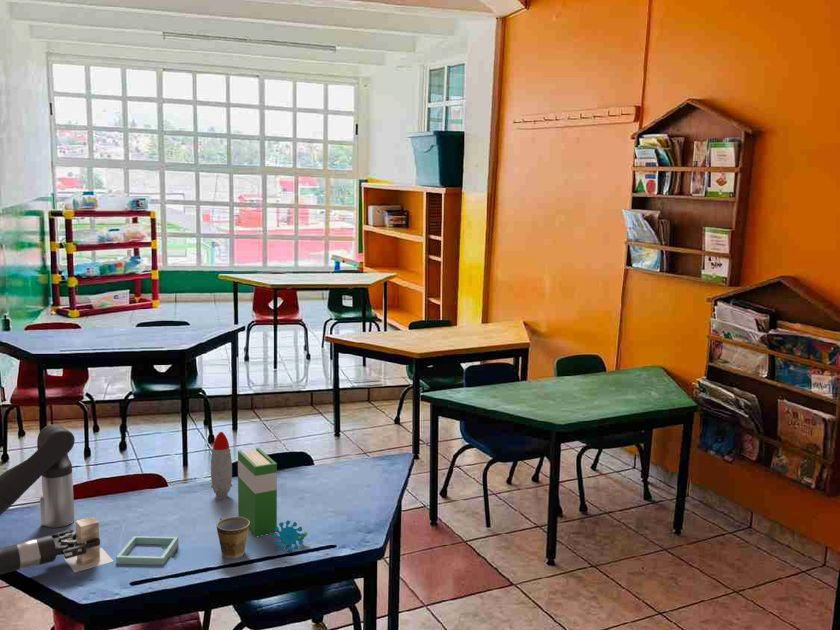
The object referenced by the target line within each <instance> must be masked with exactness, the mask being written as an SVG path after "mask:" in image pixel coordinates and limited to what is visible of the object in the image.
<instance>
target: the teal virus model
mask: <svg viewBox="0 0 840 630" xmlns="http://www.w3.org/2000/svg"><path fill="white" fill-rule="evenodd" d="M284 523H285V527H284ZM290 524H291V521H290V520H288V519H287V520H286V521H285V522H283V521H282V522H279V523H278V525H279V527H280V528H279V527H278V526H277V527H276V528H275V529H274V531H275V532H277V533H273V536H272V538H273V539H279V540H280V541H279V540H275V542H274V543H275V546H279V545H280V544H283V545H281V546H280V547H279V549H280V550H281V551H284V550H285V548H286V546H289V547H287V549H286V551H287V552H290V553H291V552H292V550H295V551H296V550H299V546H301V545H302V544H304V539H305V538H306V537H307V536H308V534H309V533H308V532H307V531H306V532H303V533H299V532H302V531H303V528H302V526H299V527H297V525H298V523H297V522H296V521H293V523H292V525H290ZM289 525H290V526H289ZM294 527H297V528H294ZM297 542H298V544H297ZM293 545H294V547H293V548H294V549H293V548H292V546H293Z"/></svg>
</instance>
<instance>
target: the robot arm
mask: <svg viewBox="0 0 840 630" xmlns="http://www.w3.org/2000/svg"><path fill="white" fill-rule="evenodd" d="M37 435H38V436H37V440H36V447H37V448H36V449H37V450H36V451H35V452H33V453H32V454H31V456H29V457H28V458H27V459H25V460H24V461H22V462H21V463H19V464H16V465H14V466H12V467H11V468H9V469H7V470H5V471H4V472H3V473H1V474H0V517H1V516H2V515H3V514H4V513H5V512H6V511H8V510H9V508H10V507H11V506H12V505H14V504H15V503H16V502H17V501H18V500H19V499H20V498H21V497H22V496H23V495H24V494H25V493H26V491H27V490H28V489H29V488H30V487H32V486H33V485H34V484H35V483H36V482H37V481H38V480H39V479H41V489H42V491H41V492H42V493H41V494H42V495H41V497H39V507H40V508H39V509H40V526H45V527H47V528H52V529H53V528H54V529H55V528H62V527H66V526H68V525H71V524H72V523H74V522H75V505H74V481H73V464H72V462H71V460H70V458H69V455H68V454H69V453H70V452H71V450H72V449H73V447H74V445H75V441H76V440H75V435H74V434H73V433H72V432H71V431H70V430H69V429H66V428H65V427H63V426H61V425H59V424H48V425H46V426H44V427H43V428H42V429H41V430H40V431H39V433H38V434H37ZM40 477H41V478H40ZM78 545H79V546H78ZM100 545H101V539H100V537H99V538H95V539H91V540H87V541H78V540H76V530H74V529H67V530H62V531H59V532H53V533H51V534H49V535H44V536H41V537H37V538H32V539H29V540H24V541H20V542H18V543H16V544H12V545H11V544H10V545H7V546H4V547H0V575H3V574H7V573H11V572H14V571H18V570H24V569H30V568H34V567H37V566H41V565H44V564H45V565H46V564H48V563H52V562H55V561H56V559H57V558H56V557H57V556H61V555H63V556H64V557H63V558H65V559H68V558H71V557H75V556H78V555H82V554H85V553H87V552H86V550H87V549H88V548H92V547H95V546H100ZM78 551H80V552H78ZM65 559H64V560H65Z"/></svg>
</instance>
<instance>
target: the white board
mask: <svg viewBox="0 0 840 630" xmlns="http://www.w3.org/2000/svg"><path fill="white" fill-rule="evenodd" d="M63 559H64V561H65V563H67V564H68V565H69V567H70V568H71V570H72V571H73V573H77V572H81V571H85V570H88V569H89V570H90V569H92V568H95V567H99V566H103V565H106V564H110V563H113V562H114V560H113V559H112V558H111V556H110V555H109V554H108V553H107V552H106V551H105V550H104V548H103V547H100V560H99V561H96V562H92V563H89V564H85V565H82V564H81V563H80V562H79V560H78V559H77V556H75V557H71V558H68V559H65V557H63Z"/></svg>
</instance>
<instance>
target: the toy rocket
mask: <svg viewBox="0 0 840 630" xmlns="http://www.w3.org/2000/svg"><path fill="white" fill-rule="evenodd" d="M231 451H232V450H231V449H230V444H229V440H228V438H227V435H225V433H224V432H223V431H219V432H218V434H217V435H216V436H215V438H214V441H213V444H212V449H211V458H210V477H211V478H210V480H211V485H210V487H211V488H212V490H213V493H214V494H215V497H217V498H216V499H218V498H219V500H222V499H223V498H224V499H227V498H228V494H229V492H230V490H231V487H233V484H232V482H233V481H232V479H233V463H232V455H231V454H232V453H231ZM224 499H223V500H224Z"/></svg>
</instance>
